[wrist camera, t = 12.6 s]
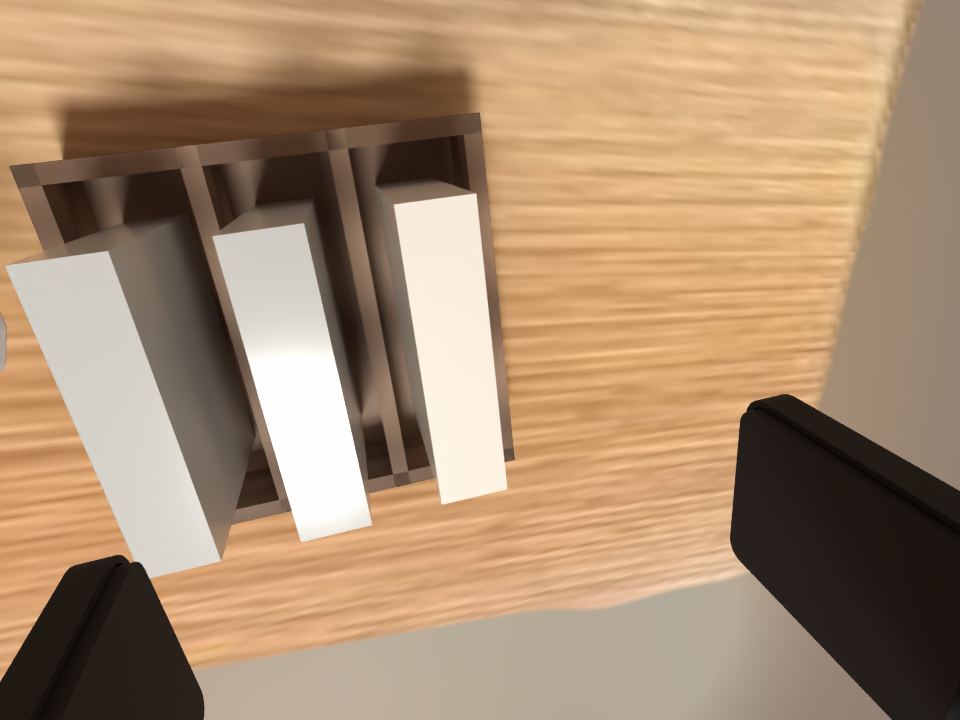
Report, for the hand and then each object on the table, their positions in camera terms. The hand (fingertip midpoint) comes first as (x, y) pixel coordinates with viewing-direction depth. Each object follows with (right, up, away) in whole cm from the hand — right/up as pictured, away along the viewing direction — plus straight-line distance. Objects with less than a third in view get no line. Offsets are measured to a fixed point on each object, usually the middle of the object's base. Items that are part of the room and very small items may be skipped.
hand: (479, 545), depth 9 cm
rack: (-9, +5, +21) cm, 24 cm away
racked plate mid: (-9, +5, +21) cm, 24 cm away
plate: (-3, +6, +21) cm, 22 cm away
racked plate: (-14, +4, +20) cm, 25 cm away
